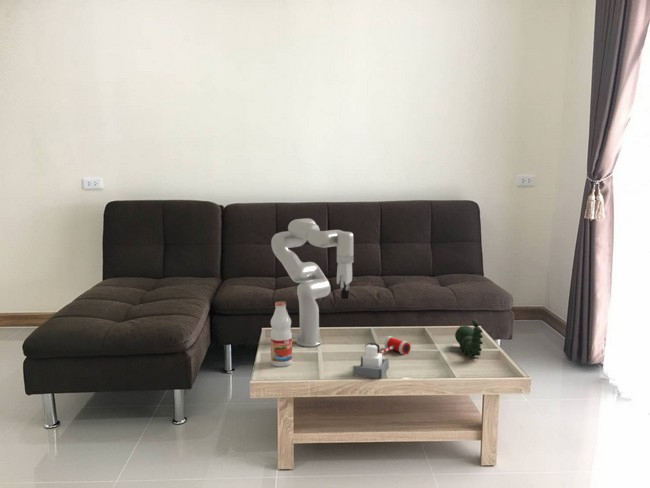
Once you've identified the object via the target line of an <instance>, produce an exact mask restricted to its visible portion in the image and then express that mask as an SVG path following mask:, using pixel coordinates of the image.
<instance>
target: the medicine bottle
mask: <svg viewBox="0 0 650 488" xmlns="http://www.w3.org/2000/svg"><path fill="white" fill-rule="evenodd" d="M364 348H365V349H364V350H365V354H364V355H363V358H362V366H363V367H372V368H380V367H381V365H382V359H383V353H382V354H380V353H379V352H380V345H379V343H376V342H375V343H374V342H369V343H367V344H366V345H365V346H364Z"/></svg>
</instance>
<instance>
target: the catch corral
mask: <svg viewBox="0 0 650 488" xmlns="http://www.w3.org/2000/svg"><path fill="white" fill-rule="evenodd" d="M363 356H364V355H363ZM363 356H360V365H353V367H352V371H353V372H352V374H353V375H352V376H355V377H363V378H370V379H372V378H373V379H379V380H380V379H381V380H382V379H383V378H384V376H385V375H386V373H387V371H388V370H389V367H390V365H389V363H390V362H389V361H390V360H389V358H382V365H381V367H380V368H372V367H363V366H362V358H363Z"/></svg>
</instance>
